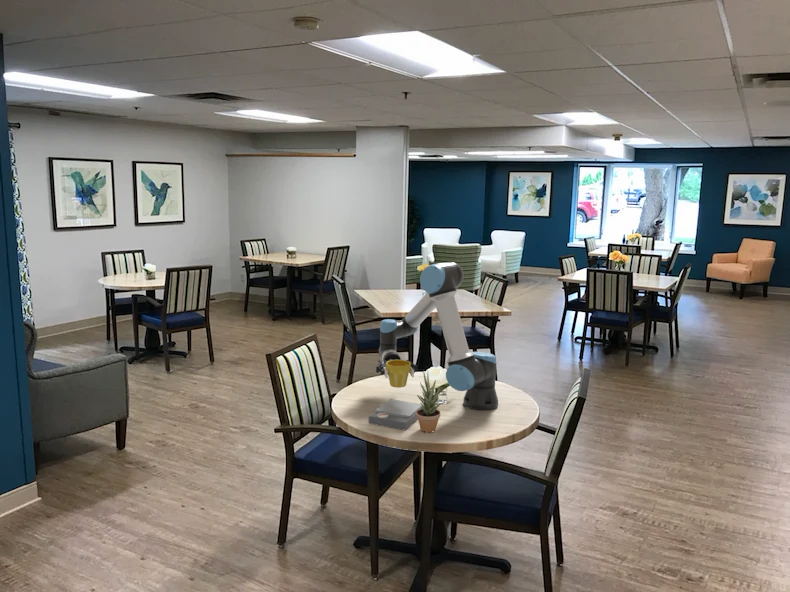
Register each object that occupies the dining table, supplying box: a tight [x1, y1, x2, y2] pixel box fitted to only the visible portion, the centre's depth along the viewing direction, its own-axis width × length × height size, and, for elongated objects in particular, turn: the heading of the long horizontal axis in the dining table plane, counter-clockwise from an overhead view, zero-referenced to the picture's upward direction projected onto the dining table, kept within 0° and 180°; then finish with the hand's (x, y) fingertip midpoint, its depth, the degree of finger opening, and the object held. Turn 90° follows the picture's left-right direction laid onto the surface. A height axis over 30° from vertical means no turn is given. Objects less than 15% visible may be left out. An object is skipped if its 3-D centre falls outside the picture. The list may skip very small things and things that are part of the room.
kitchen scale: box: [368, 398, 424, 431], centre depth 260 cm, size 16×20×4 cm
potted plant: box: [416, 370, 442, 433], centre depth 246 cm, size 10×10×25 cm
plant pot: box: [386, 359, 411, 388], centre depth 264 cm, size 10×10×10 cm
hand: (399, 374), depth 260 cm, fingers closed on plant pot, 10 cm apart
